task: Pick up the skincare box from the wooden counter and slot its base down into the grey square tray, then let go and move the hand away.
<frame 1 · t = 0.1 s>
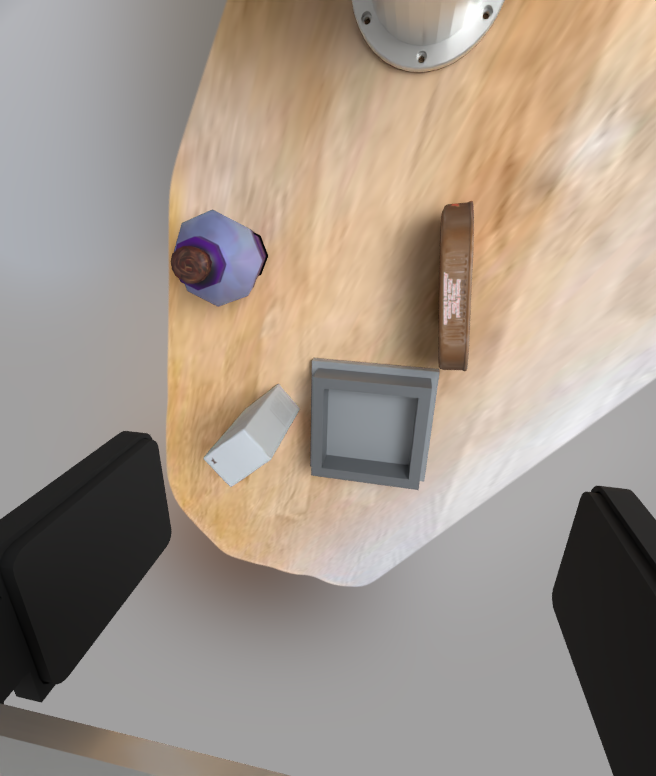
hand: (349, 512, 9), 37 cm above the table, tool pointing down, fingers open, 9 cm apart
skincare box: (274, 407, 51), on the table
grey square tray: (370, 419, 49), on the table
tin: (450, 284, 42), on the table
potion bottle: (243, 254, 45), on the table
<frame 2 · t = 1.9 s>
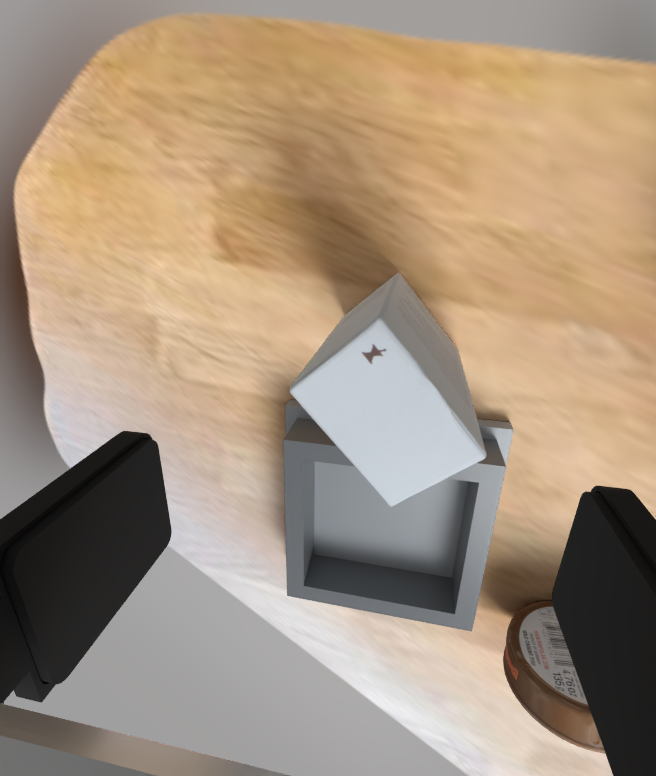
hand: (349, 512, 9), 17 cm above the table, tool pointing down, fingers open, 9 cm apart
skincare box: (401, 333, 25), on the table
grey square tray: (386, 500, 29), on the table
tin: (608, 612, 29), on the table
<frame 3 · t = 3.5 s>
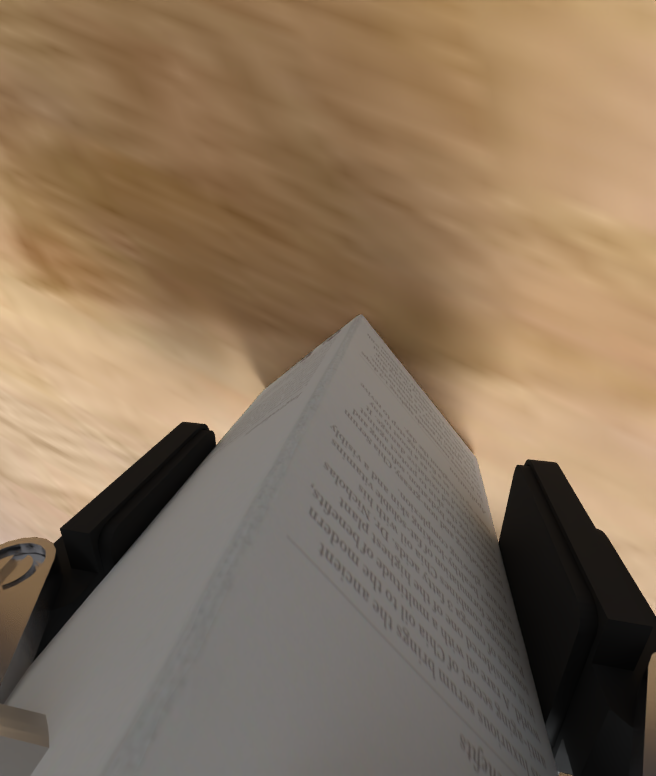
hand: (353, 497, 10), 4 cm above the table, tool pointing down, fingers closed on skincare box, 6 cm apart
skincare box: (370, 421, 13), on the table, touching gripper
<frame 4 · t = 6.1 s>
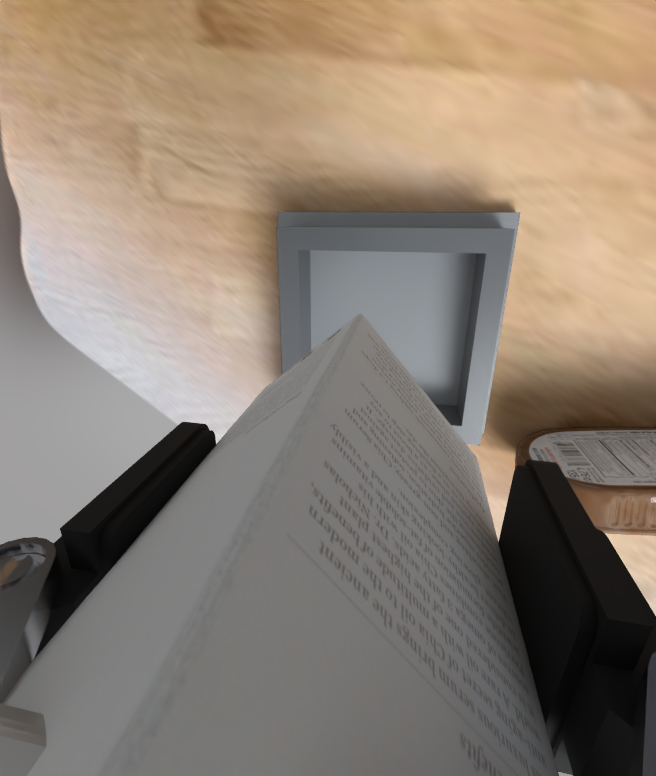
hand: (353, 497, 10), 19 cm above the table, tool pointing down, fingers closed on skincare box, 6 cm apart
skincare box: (370, 421, 13), point 15 cm above the table, touching gripper
grey square tray: (387, 325, 28), on the table
tin: (619, 438, 28), on the table
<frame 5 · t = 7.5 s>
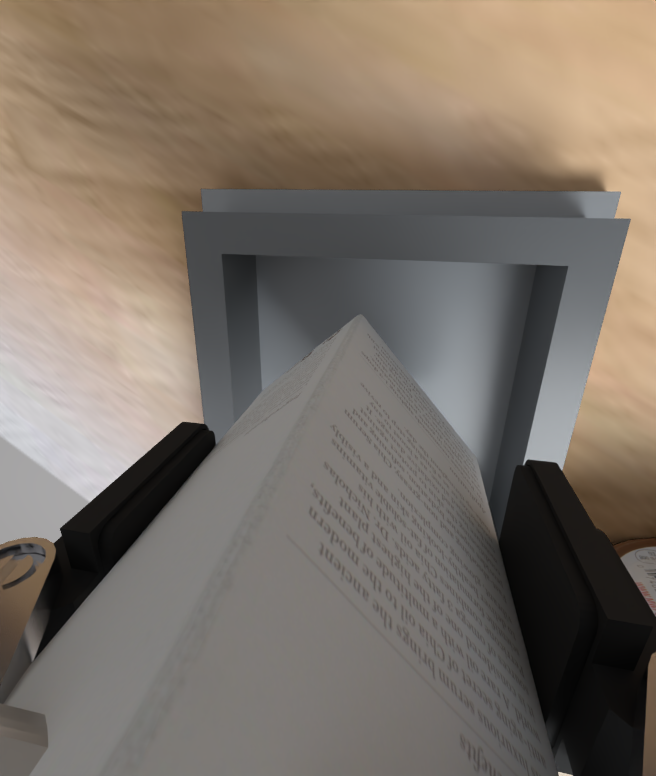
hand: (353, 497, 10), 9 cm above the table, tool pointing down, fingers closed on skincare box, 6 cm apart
skincare box: (370, 421, 13), point 5 cm above the table, touching gripper
grey square tray: (381, 374, 18), on the table
when the fingers open (6 cm above the table, at t = 8.6 s): skincare box stays where it is, resting on grey square tray.
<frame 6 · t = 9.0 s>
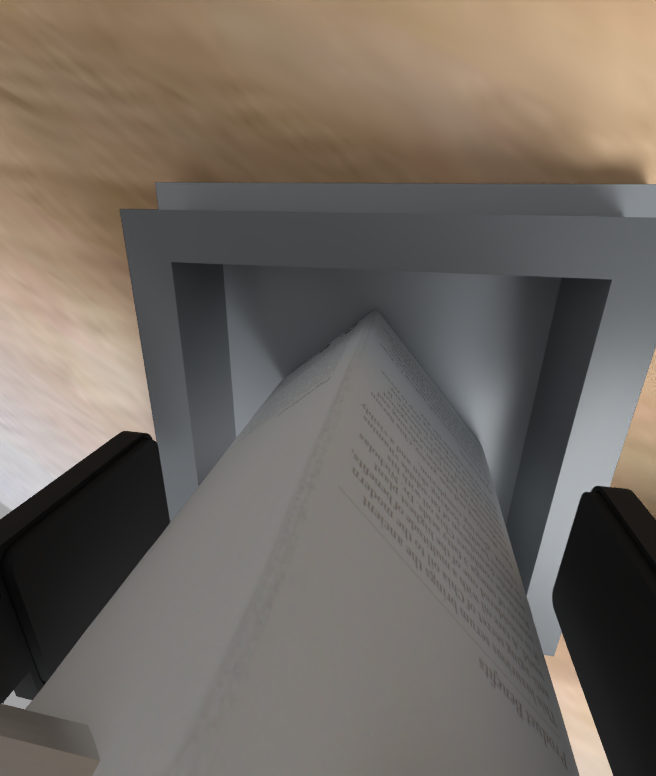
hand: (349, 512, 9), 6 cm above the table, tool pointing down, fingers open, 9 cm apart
skincare box: (381, 411, 14), point 1 cm above the table, touching grey square tray
grey square tray: (374, 400, 15), on the table
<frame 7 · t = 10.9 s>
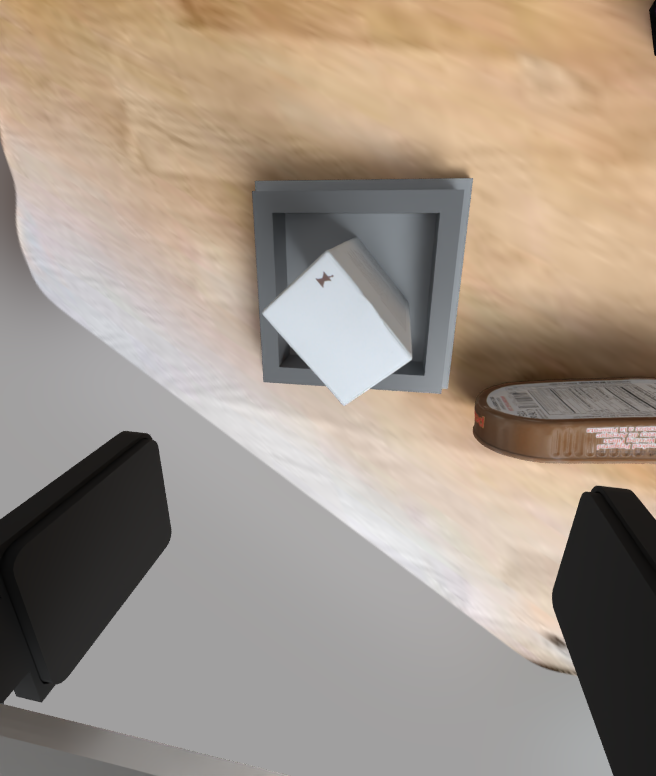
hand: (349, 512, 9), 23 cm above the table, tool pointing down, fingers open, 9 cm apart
skincare box: (361, 290, 29), point 1 cm above the table, touching grey square tray
grey square tray: (357, 288, 30), on the table
tin: (571, 390, 31), on the table
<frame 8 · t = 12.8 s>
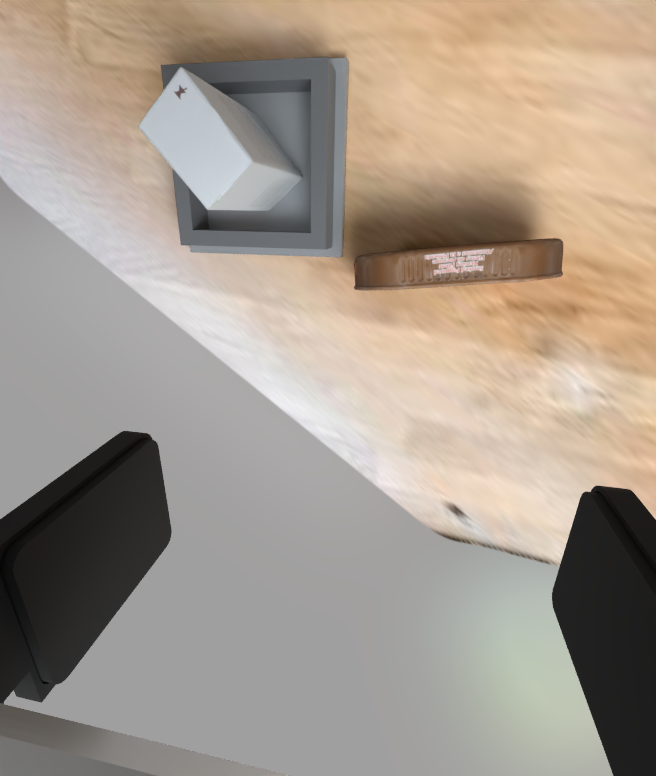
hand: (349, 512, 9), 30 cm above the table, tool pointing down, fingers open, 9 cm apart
skincare box: (264, 166, 34), point 1 cm above the table, touching grey square tray
grey square tray: (264, 167, 35), on the table
tin: (447, 259, 35), on the table
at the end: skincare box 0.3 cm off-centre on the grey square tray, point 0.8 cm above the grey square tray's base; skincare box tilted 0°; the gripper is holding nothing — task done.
